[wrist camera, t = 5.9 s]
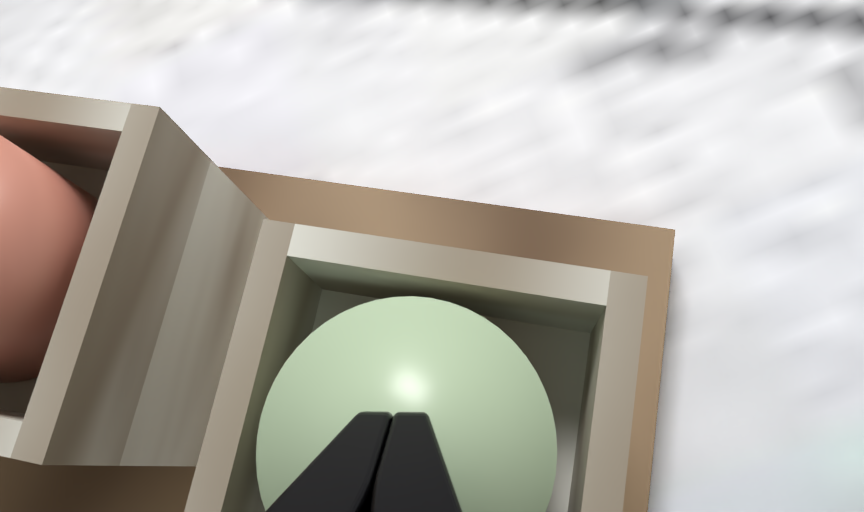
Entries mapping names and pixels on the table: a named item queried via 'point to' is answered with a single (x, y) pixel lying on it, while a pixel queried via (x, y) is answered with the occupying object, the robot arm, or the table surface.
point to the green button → (417, 399)
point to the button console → (298, 315)
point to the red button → (35, 256)
